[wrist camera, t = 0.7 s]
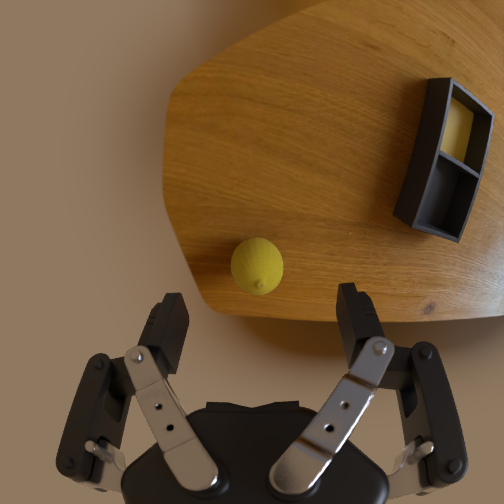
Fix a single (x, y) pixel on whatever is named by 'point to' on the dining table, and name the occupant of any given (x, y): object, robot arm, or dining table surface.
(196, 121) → the dining table surface
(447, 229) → the sorter
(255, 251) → the lemon
